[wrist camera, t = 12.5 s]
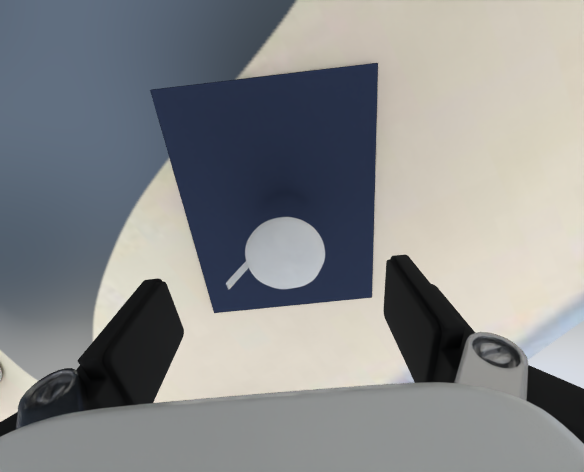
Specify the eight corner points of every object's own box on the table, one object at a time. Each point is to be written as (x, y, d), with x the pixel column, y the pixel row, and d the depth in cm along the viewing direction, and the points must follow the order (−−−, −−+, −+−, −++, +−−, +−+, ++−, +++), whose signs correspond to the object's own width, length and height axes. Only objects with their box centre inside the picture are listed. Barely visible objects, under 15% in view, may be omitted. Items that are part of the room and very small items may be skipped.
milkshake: (242, 192, 22) (211, 247, 13) (306, 177, 21) (321, 223, 12) (257, 241, 24) (240, 319, 15) (316, 227, 23) (336, 300, 14)
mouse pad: (152, 90, 19) (149, 89, 19) (376, 63, 19) (378, 62, 18) (215, 310, 27) (214, 313, 27) (370, 295, 27) (372, 297, 27)
